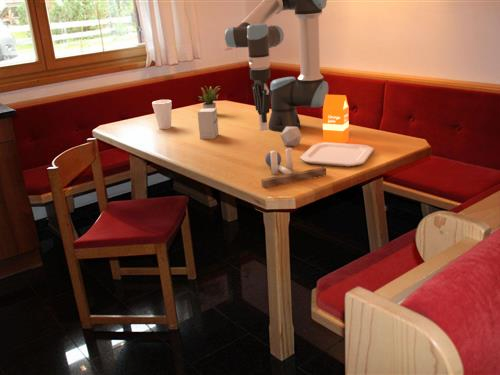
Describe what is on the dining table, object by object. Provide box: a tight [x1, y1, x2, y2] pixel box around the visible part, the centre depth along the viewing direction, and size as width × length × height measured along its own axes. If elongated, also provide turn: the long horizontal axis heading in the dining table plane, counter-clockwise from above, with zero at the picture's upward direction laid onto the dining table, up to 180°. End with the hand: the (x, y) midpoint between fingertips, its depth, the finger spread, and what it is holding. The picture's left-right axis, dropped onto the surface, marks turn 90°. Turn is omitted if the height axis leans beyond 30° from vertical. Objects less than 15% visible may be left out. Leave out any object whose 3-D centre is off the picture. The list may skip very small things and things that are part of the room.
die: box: [280, 127, 303, 147], centre depth 221 cm, size 8×9×10 cm
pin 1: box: [270, 150, 279, 176], centre depth 188 cm, size 2×2×8 cm
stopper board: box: [260, 166, 327, 188], centre depth 182 cm, size 24×2×2 cm, turn 112°
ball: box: [265, 151, 282, 168], centre depth 196 cm, size 6×6×6 cm
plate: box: [299, 142, 375, 168], centre depth 204 cm, size 25×25×2 cm
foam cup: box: [151, 99, 173, 130], centre depth 262 cm, size 10×9×13 cm
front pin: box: [278, 163, 294, 175], centre depth 189 cm, size 2×2×8 cm
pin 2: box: [285, 147, 294, 172], centre depth 190 cm, size 2×2×8 cm
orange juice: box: [322, 94, 350, 144], centre depth 219 cm, size 8×9×20 cm
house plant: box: [198, 85, 221, 109], centre depth 280 cm, size 14×14×16 cm
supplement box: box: [197, 107, 219, 140], centre depth 240 cm, size 7×7×13 cm
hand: (263, 130), depth 201 cm, fingers closed
